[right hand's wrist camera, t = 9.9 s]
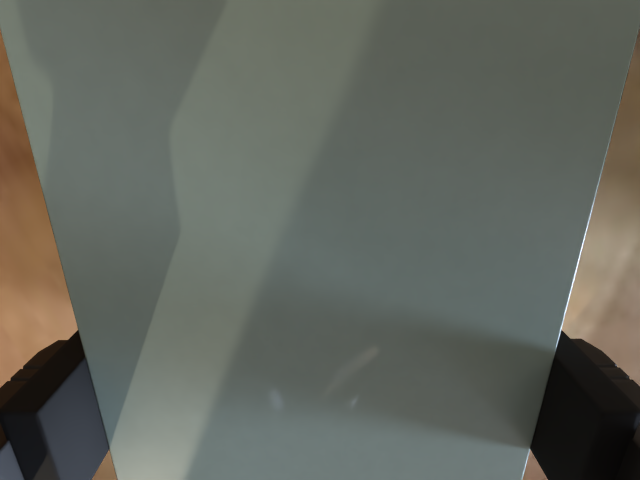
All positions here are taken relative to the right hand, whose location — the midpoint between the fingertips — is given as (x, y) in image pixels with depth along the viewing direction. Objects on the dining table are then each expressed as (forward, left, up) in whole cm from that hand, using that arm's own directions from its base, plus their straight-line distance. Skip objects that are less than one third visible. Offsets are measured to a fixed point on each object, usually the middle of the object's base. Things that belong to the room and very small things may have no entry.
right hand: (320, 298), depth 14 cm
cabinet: (+3, -5, -4) cm, 8 cm away
